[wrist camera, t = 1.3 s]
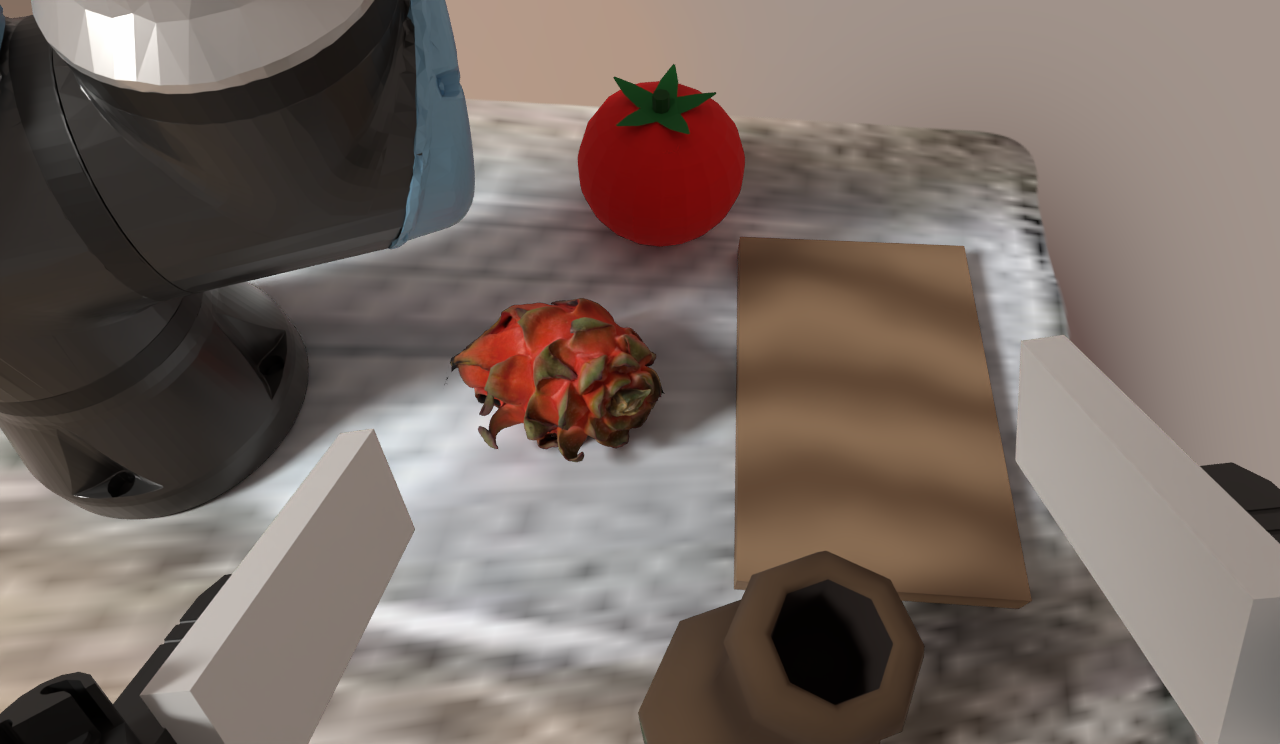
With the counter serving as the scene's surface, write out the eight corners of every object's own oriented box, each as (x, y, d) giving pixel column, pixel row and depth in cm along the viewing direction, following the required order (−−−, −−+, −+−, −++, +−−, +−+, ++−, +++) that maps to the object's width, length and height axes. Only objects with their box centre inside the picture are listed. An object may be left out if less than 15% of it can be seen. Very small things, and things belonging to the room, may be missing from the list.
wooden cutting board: (1019, 608, 37) (1031, 600, 36) (734, 589, 38) (736, 580, 37) (956, 261, 48) (964, 246, 47) (737, 252, 49) (739, 236, 48)
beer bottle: (811, 665, 36) (1013, 453, 15) (820, 859, 32) (1109, 921, 11) (649, 654, 36) (635, 433, 16) (638, 843, 32) (599, 877, 12)
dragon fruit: (675, 456, 43) (489, 426, 47) (691, 310, 43) (501, 289, 46) (632, 485, 35) (410, 446, 39) (651, 305, 35) (424, 281, 38)
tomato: (677, 304, 47) (681, 189, 39) (552, 229, 51) (530, 108, 42) (767, 205, 51) (789, 80, 43) (646, 142, 55) (643, 15, 46)
